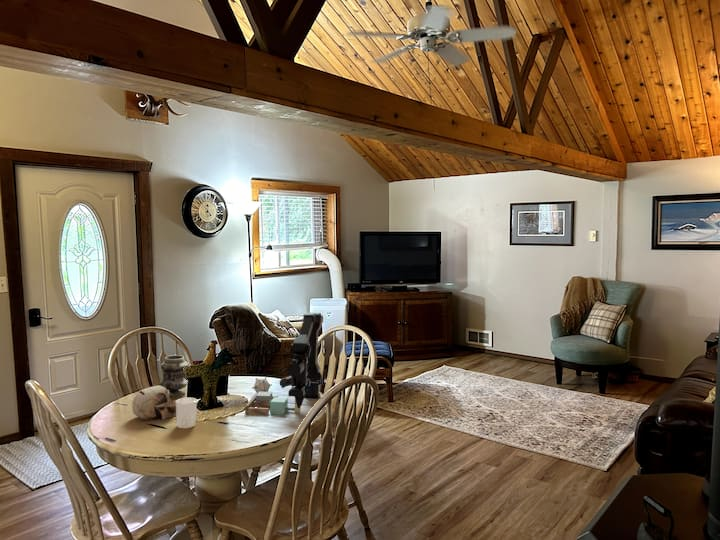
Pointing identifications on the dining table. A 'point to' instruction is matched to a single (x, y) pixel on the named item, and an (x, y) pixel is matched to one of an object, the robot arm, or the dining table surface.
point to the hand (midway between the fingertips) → (299, 406)
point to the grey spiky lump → (261, 385)
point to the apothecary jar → (174, 375)
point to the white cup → (186, 412)
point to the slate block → (264, 396)
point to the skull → (154, 403)
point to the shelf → (261, 406)
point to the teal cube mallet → (281, 406)
